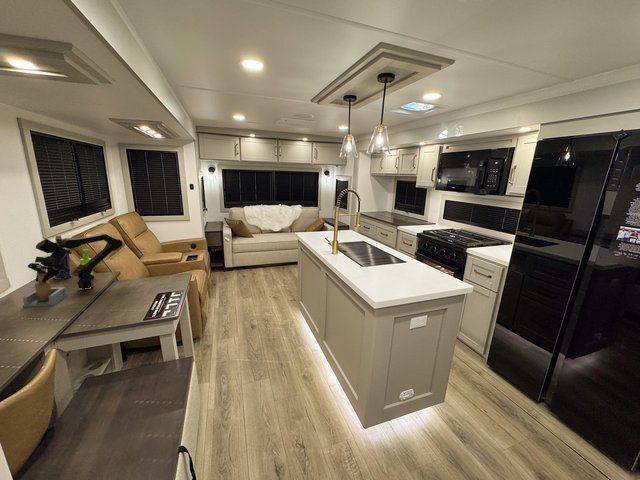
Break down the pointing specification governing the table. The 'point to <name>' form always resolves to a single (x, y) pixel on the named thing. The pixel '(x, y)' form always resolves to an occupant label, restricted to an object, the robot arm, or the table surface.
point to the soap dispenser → (85, 258)
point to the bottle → (65, 263)
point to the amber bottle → (42, 288)
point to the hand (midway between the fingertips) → (39, 281)
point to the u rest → (53, 299)
